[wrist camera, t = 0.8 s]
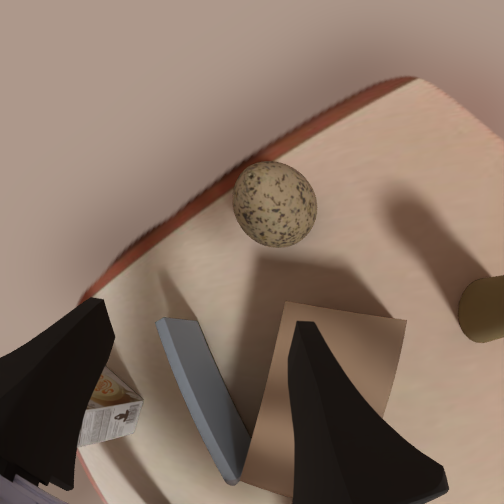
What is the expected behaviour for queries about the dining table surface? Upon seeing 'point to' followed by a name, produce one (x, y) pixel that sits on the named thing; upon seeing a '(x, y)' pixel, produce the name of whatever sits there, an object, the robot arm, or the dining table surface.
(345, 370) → the cabinet
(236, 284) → the dining table surface
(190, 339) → the cabinet door
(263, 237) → the decorative egg
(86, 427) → the coffee box
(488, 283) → the cork
